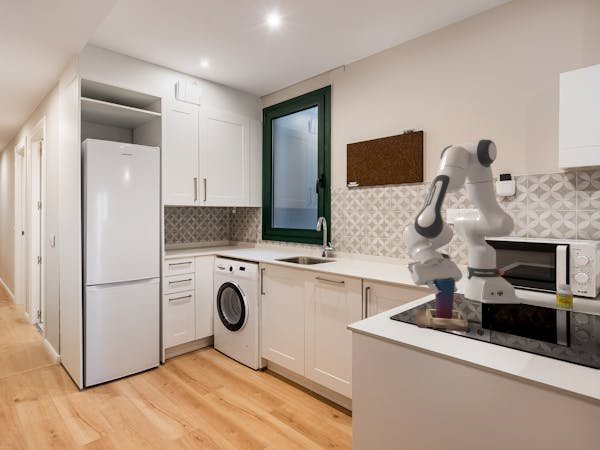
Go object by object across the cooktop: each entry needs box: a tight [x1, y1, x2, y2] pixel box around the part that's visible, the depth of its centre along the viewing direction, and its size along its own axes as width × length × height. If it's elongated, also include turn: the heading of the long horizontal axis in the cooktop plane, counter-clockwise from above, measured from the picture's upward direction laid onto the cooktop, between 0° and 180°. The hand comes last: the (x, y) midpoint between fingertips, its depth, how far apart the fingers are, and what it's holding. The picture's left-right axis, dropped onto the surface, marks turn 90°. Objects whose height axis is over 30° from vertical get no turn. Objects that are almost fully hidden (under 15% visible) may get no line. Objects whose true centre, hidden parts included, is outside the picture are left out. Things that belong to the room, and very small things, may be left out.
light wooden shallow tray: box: [413, 308, 469, 332], centre depth 128 cm, size 16×18×3 cm
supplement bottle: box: [555, 283, 574, 311], centre depth 141 cm, size 5×5×10 cm
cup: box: [434, 277, 456, 319], centre depth 126 cm, size 7×7×15 cm
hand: (447, 292), depth 125 cm, fingers closed on cup, 6 cm apart
